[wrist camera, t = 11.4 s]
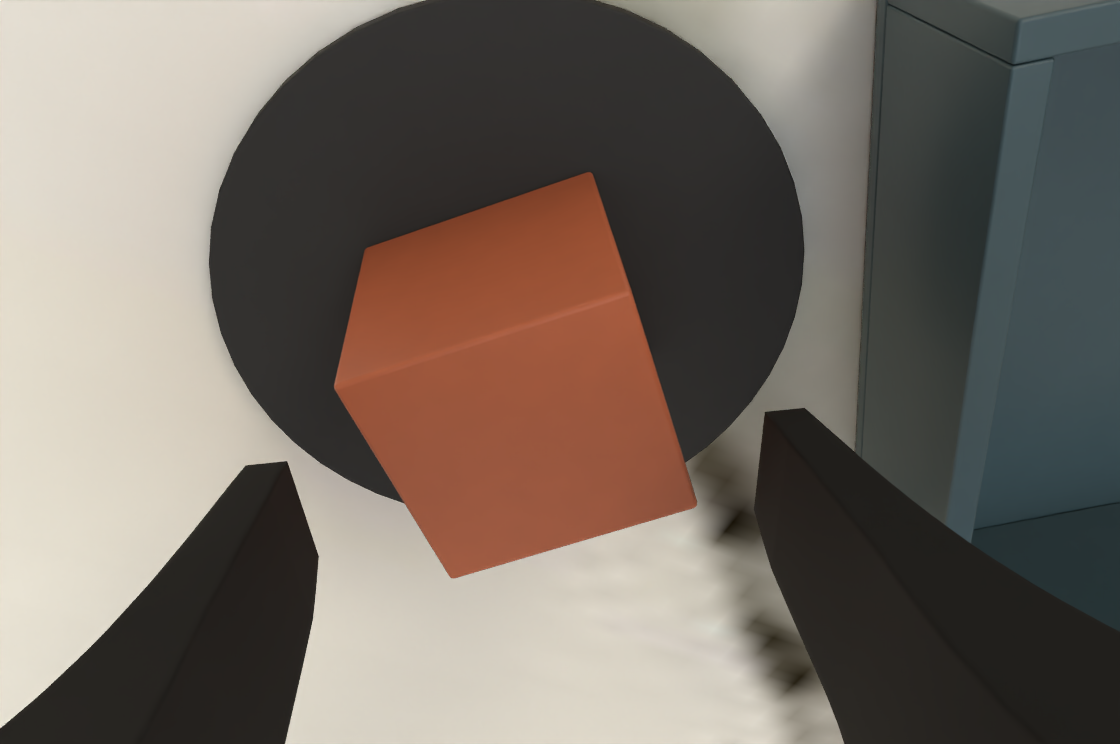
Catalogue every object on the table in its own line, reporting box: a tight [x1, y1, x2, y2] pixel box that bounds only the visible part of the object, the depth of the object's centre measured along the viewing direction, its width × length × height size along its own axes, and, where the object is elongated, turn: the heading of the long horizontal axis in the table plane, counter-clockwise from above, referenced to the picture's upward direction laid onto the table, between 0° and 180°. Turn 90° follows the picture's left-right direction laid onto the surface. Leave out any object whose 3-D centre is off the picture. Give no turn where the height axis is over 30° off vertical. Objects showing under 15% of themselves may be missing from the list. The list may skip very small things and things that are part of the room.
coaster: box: [209, 0, 804, 503], centre depth 17 cm, size 12×12×1 cm
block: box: [334, 172, 697, 578], centre depth 15 cm, size 5×5×5 cm
